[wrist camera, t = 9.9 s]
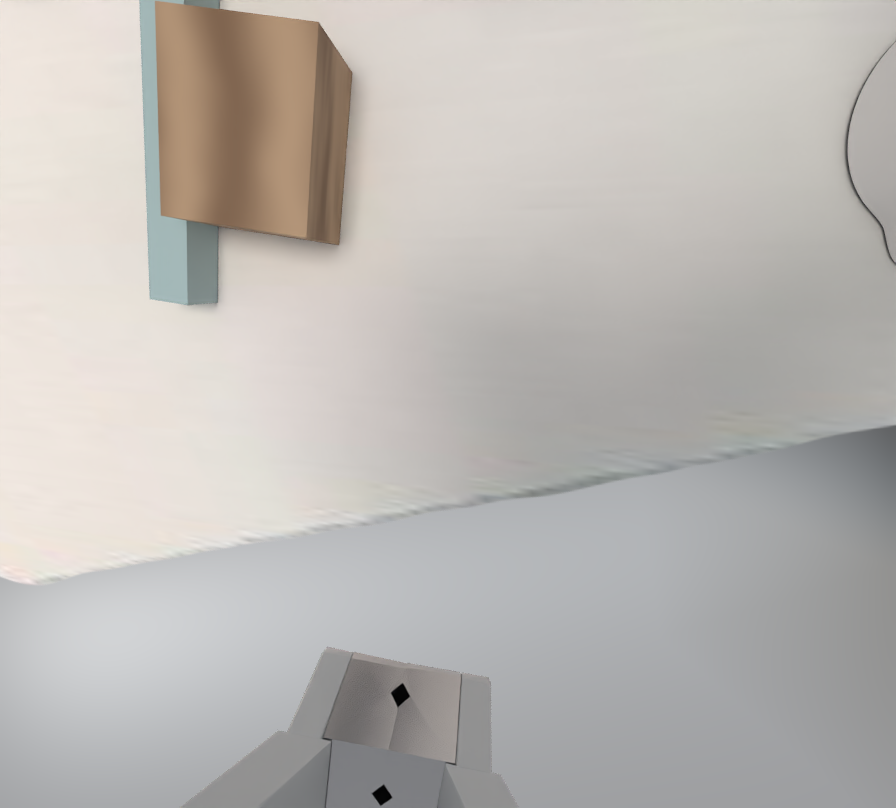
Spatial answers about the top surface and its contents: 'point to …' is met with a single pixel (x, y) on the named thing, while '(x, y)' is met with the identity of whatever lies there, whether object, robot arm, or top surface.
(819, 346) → the top surface
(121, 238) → the top surface
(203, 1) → the teal bar
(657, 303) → the top surface
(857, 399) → the top surface
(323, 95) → the block
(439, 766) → the robot arm
